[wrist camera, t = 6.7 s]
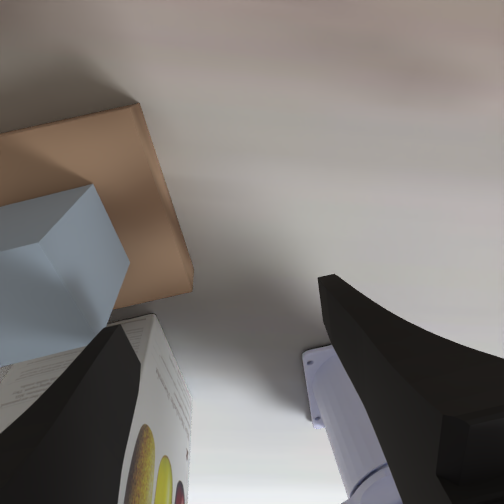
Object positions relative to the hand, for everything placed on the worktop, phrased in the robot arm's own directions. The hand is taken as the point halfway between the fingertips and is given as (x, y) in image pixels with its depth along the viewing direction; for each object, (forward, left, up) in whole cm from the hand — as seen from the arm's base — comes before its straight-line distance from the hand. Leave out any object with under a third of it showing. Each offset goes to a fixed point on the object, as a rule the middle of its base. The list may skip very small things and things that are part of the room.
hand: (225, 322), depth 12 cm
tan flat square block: (+2, +7, -10) cm, 12 cm away
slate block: (+2, +7, -7) cm, 10 cm away
